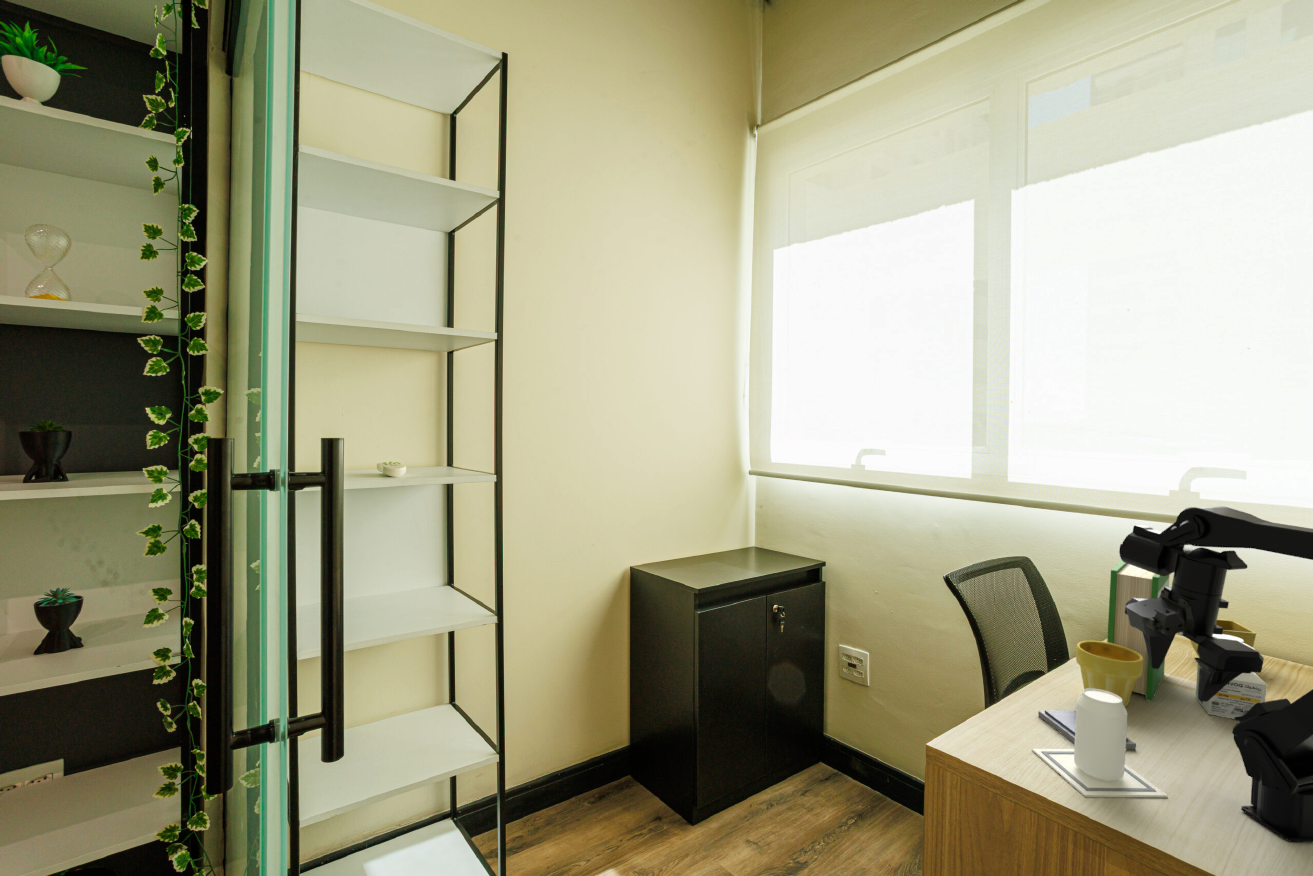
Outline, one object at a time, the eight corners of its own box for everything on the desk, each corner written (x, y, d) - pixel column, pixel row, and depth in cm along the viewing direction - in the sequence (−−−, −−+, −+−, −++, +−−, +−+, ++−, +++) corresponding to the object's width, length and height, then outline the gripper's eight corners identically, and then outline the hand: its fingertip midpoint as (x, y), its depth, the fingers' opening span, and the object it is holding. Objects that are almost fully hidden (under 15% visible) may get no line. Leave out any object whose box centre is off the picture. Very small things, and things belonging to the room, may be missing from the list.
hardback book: (1151, 701, 118) (1158, 577, 117) (1104, 688, 124) (1110, 570, 123) (1163, 674, 131) (1170, 562, 130) (1120, 664, 136) (1126, 556, 135)
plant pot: (1146, 718, 111) (1148, 665, 111) (1077, 704, 116) (1079, 653, 116) (1134, 696, 120) (1137, 646, 120) (1071, 683, 125) (1073, 636, 125)
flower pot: (1205, 669, 134) (1207, 628, 134) (1184, 654, 143) (1186, 615, 142) (1255, 674, 132) (1257, 633, 131) (1230, 659, 140) (1233, 620, 140)
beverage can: (1114, 766, 95) (1119, 690, 95) (1130, 789, 89) (1135, 708, 89) (1068, 758, 97) (1071, 683, 97) (1080, 780, 91) (1084, 700, 91)
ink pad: (1135, 749, 101) (1136, 741, 101) (1081, 749, 100) (1081, 741, 100) (1087, 716, 112) (1087, 708, 112) (1038, 716, 111) (1038, 708, 111)
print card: (1167, 797, 88) (1167, 794, 88) (1084, 797, 88) (1085, 794, 88) (1104, 751, 100) (1104, 748, 100) (1031, 750, 100) (1032, 748, 100)
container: (1207, 715, 113) (1212, 645, 113) (1195, 698, 120) (1198, 632, 119) (1264, 725, 110) (1269, 653, 109) (1247, 707, 116) (1252, 640, 116)
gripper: (1100, 562, 102) (1085, 650, 105) (1194, 611, 84) (1173, 716, 86) (1168, 566, 102) (1151, 654, 104) (1277, 616, 84) (1254, 721, 86)
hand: (1177, 683), depth 95 cm, fingers open, 9 cm apart
